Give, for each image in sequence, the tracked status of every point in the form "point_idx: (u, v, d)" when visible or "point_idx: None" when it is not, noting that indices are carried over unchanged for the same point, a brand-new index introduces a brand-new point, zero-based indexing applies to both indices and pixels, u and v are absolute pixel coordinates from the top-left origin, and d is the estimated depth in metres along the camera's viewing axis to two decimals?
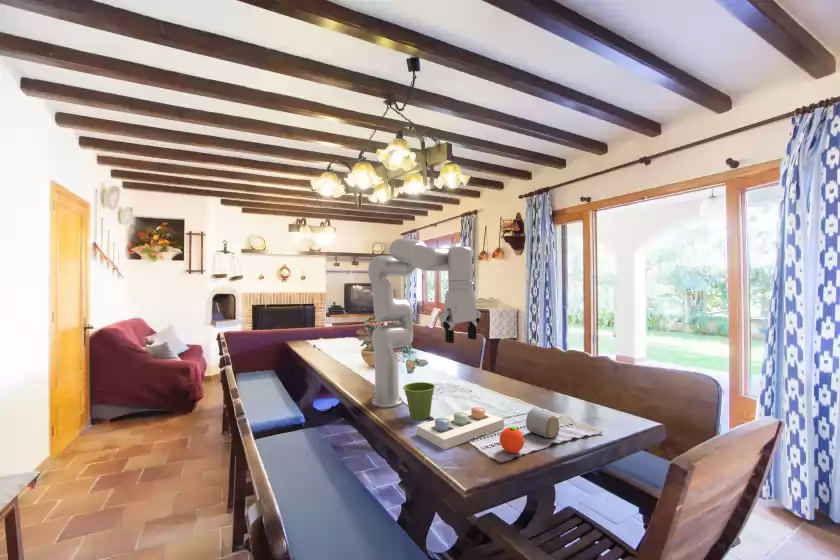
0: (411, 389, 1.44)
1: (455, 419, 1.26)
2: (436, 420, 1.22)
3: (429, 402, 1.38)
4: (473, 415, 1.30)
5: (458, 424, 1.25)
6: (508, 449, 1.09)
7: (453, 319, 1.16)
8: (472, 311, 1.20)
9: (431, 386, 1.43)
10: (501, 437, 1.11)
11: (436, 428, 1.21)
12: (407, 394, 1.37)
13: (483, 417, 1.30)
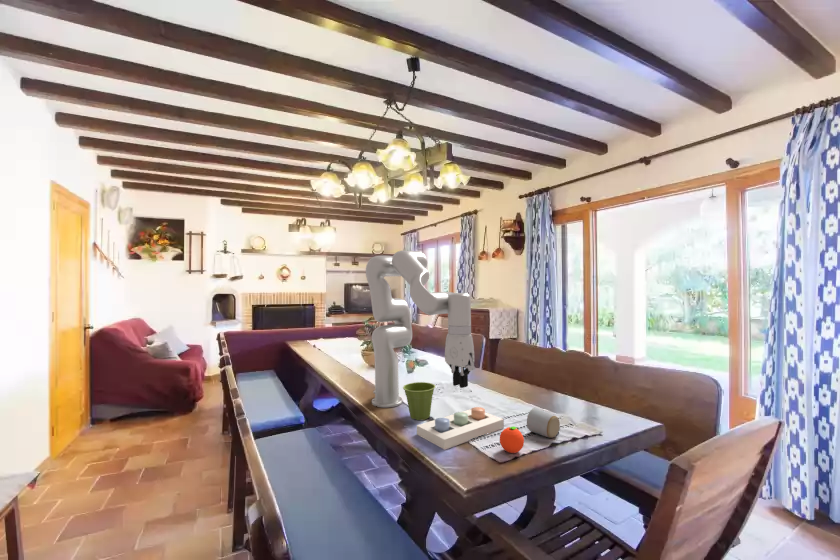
0: (411, 389, 1.44)
1: (455, 419, 1.26)
2: (436, 420, 1.22)
3: (429, 402, 1.38)
4: (473, 415, 1.30)
5: (458, 424, 1.25)
6: (508, 449, 1.09)
7: None
8: None
9: (431, 386, 1.43)
10: (501, 437, 1.11)
11: (436, 428, 1.21)
12: (407, 394, 1.37)
13: (483, 417, 1.30)
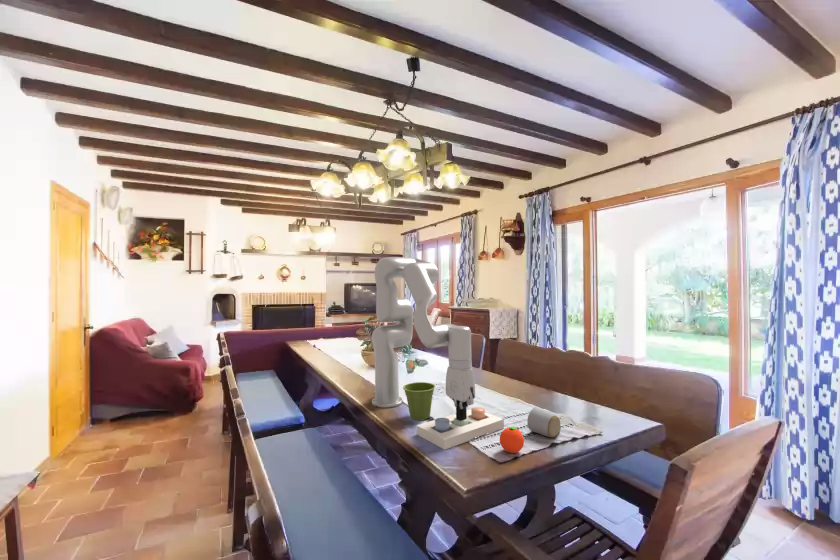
0: (411, 389, 1.44)
1: (455, 423, 1.26)
2: (436, 420, 1.22)
3: (429, 402, 1.38)
4: (473, 415, 1.30)
5: None
6: (508, 449, 1.09)
7: (474, 396, 1.24)
8: None
9: (431, 386, 1.43)
10: (501, 437, 1.11)
11: (436, 428, 1.21)
12: (407, 394, 1.37)
13: (483, 417, 1.30)
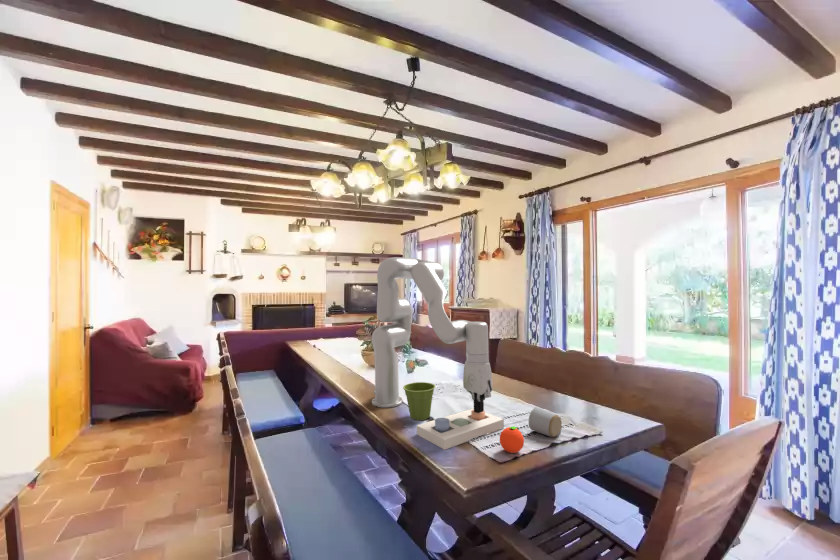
0: (411, 389, 1.44)
1: None
2: (436, 420, 1.22)
3: (429, 402, 1.38)
4: (473, 417, 1.30)
5: None
6: (508, 449, 1.09)
7: None
8: None
9: (431, 386, 1.43)
10: (501, 437, 1.11)
11: (436, 428, 1.21)
12: (407, 394, 1.37)
13: None
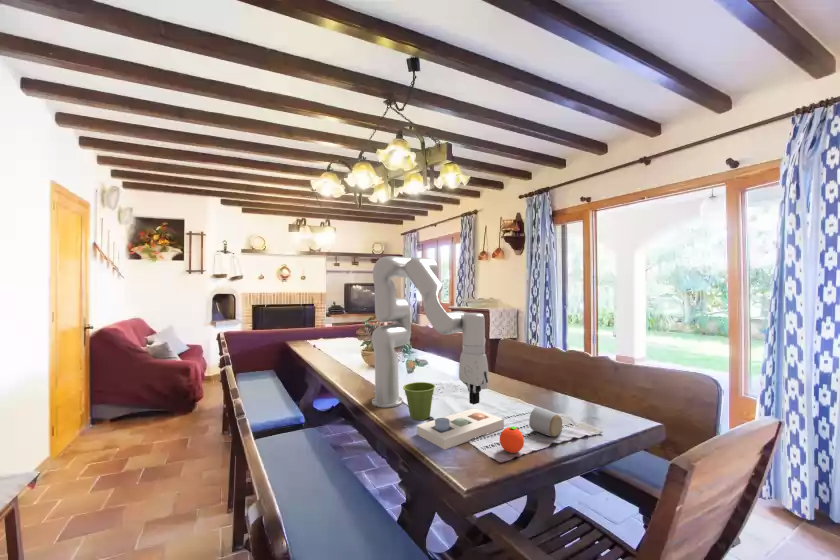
0: (411, 389, 1.44)
1: None
2: (436, 420, 1.22)
3: (429, 402, 1.38)
4: None
5: None
6: (508, 449, 1.09)
7: None
8: None
9: (431, 386, 1.43)
10: (501, 437, 1.11)
11: (436, 428, 1.21)
12: (407, 394, 1.37)
13: None
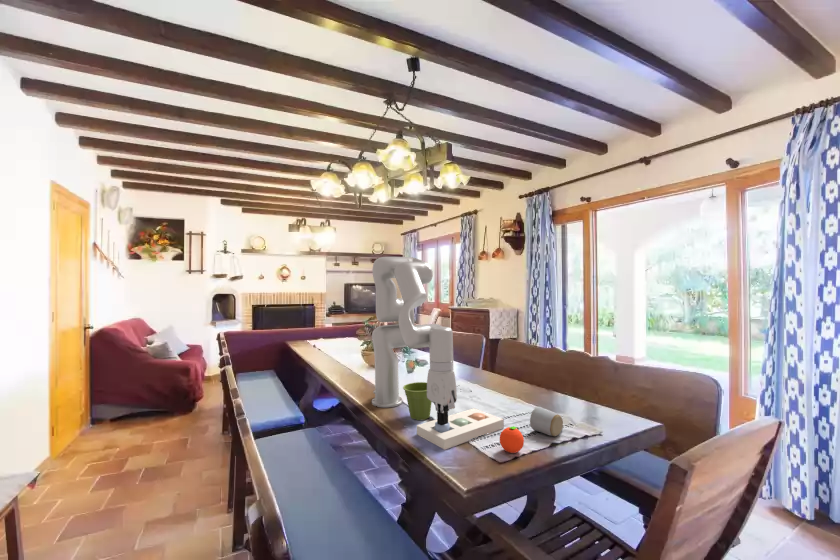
0: (411, 389, 1.44)
1: None
2: (436, 423, 1.22)
3: (429, 402, 1.38)
4: None
5: None
6: (508, 449, 1.09)
7: (456, 399, 1.19)
8: None
9: None
10: (501, 437, 1.11)
11: None
12: (407, 394, 1.37)
13: None
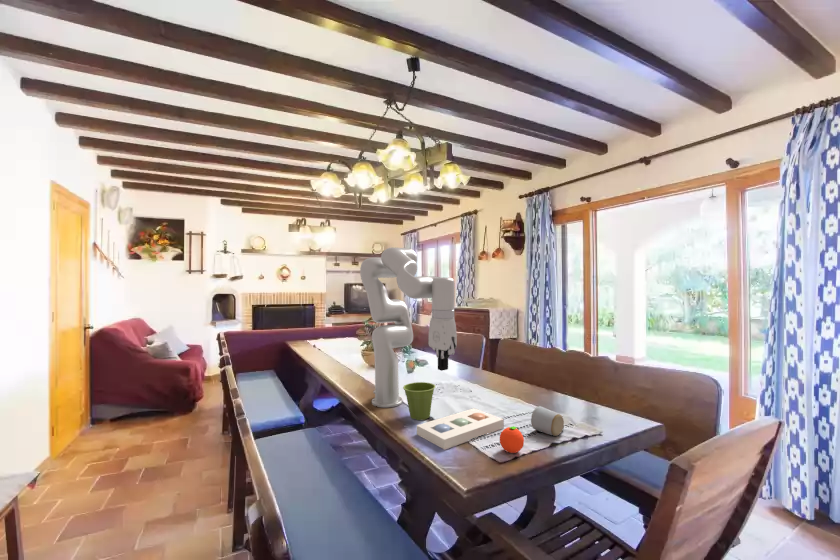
0: (411, 389, 1.44)
1: None
2: (436, 426, 1.22)
3: (429, 402, 1.38)
4: None
5: None
6: (508, 449, 1.09)
7: None
8: None
9: (431, 386, 1.43)
10: (501, 437, 1.11)
11: None
12: (407, 394, 1.37)
13: None
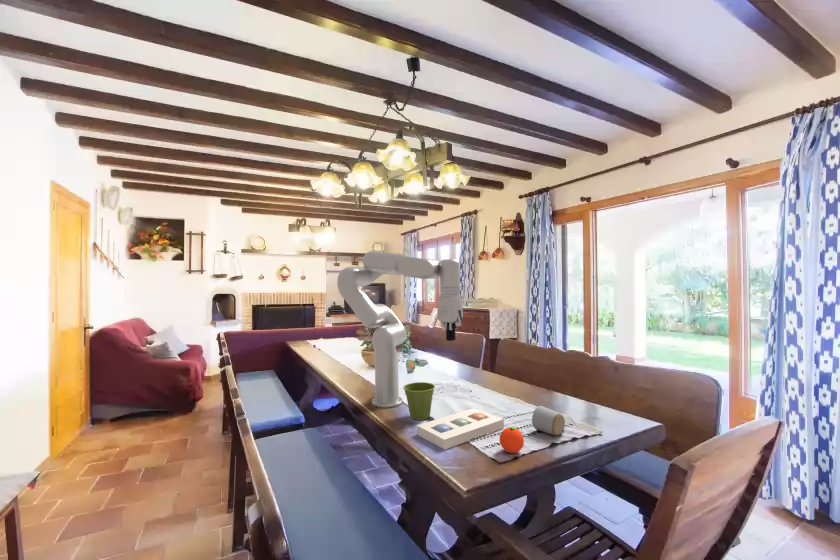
0: (411, 389, 1.44)
1: None
2: (436, 426, 1.22)
3: (429, 402, 1.38)
4: None
5: None
6: (508, 449, 1.09)
7: (462, 318, 1.43)
8: None
9: (431, 386, 1.43)
10: (501, 437, 1.11)
11: None
12: (407, 394, 1.37)
13: None
